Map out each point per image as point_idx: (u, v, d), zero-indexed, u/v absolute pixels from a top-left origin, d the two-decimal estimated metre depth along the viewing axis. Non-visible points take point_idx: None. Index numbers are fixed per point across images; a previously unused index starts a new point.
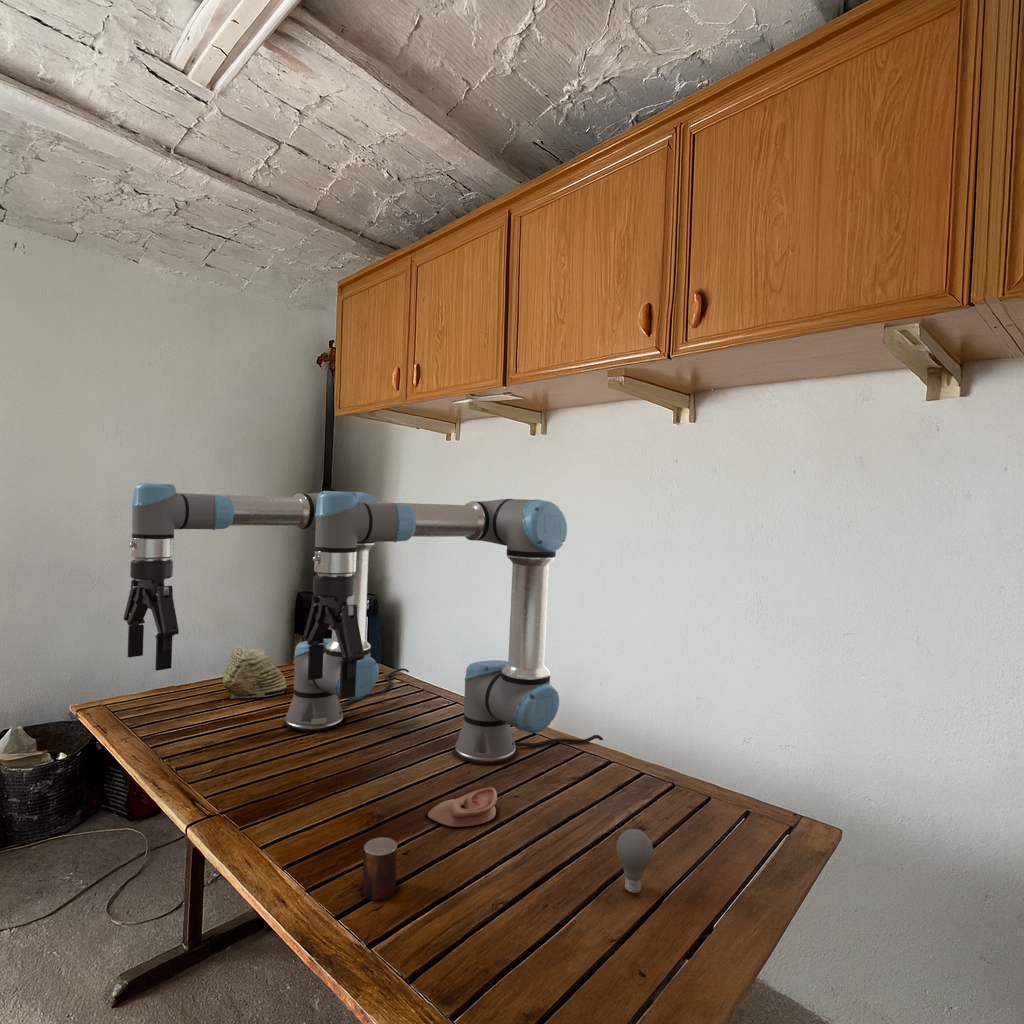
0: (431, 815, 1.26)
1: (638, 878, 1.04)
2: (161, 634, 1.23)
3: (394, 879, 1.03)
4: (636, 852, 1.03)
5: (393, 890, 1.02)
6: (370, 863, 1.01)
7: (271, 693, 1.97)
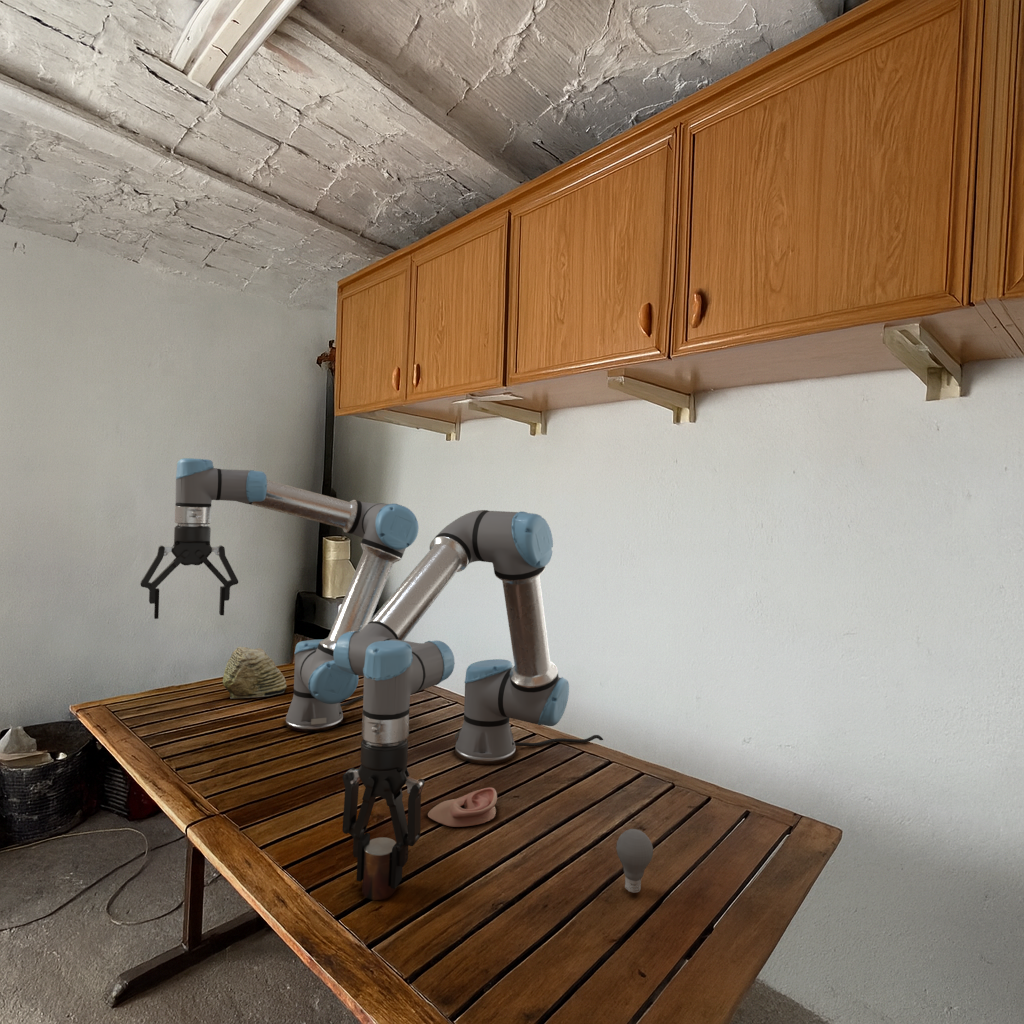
0: (431, 815, 1.26)
1: (638, 878, 1.04)
2: (230, 584, 1.51)
3: None
4: (636, 852, 1.03)
5: (393, 890, 1.02)
6: (370, 863, 1.01)
7: (271, 693, 1.97)
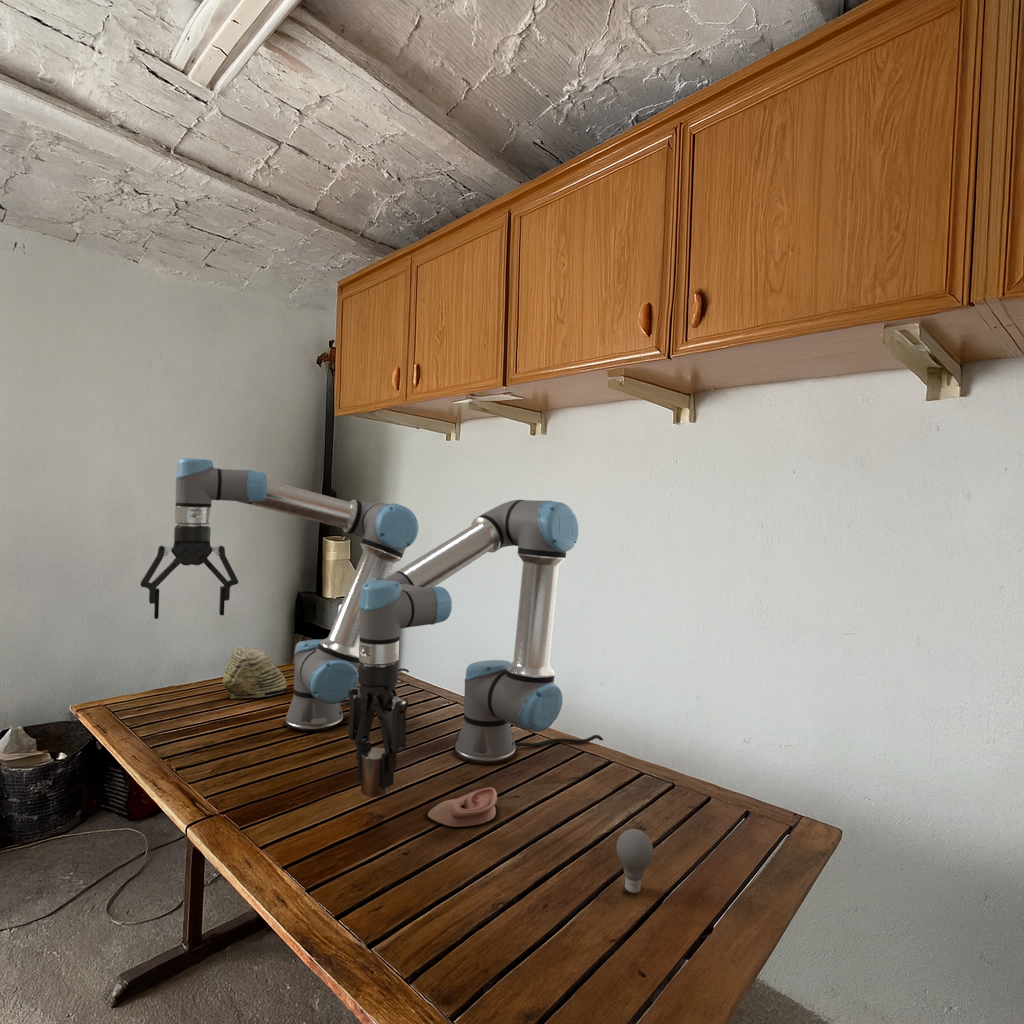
0: (431, 815, 1.26)
1: (638, 878, 1.04)
2: (230, 584, 1.51)
3: None
4: (636, 852, 1.03)
5: (384, 791, 1.20)
6: (364, 765, 1.20)
7: (271, 693, 1.97)
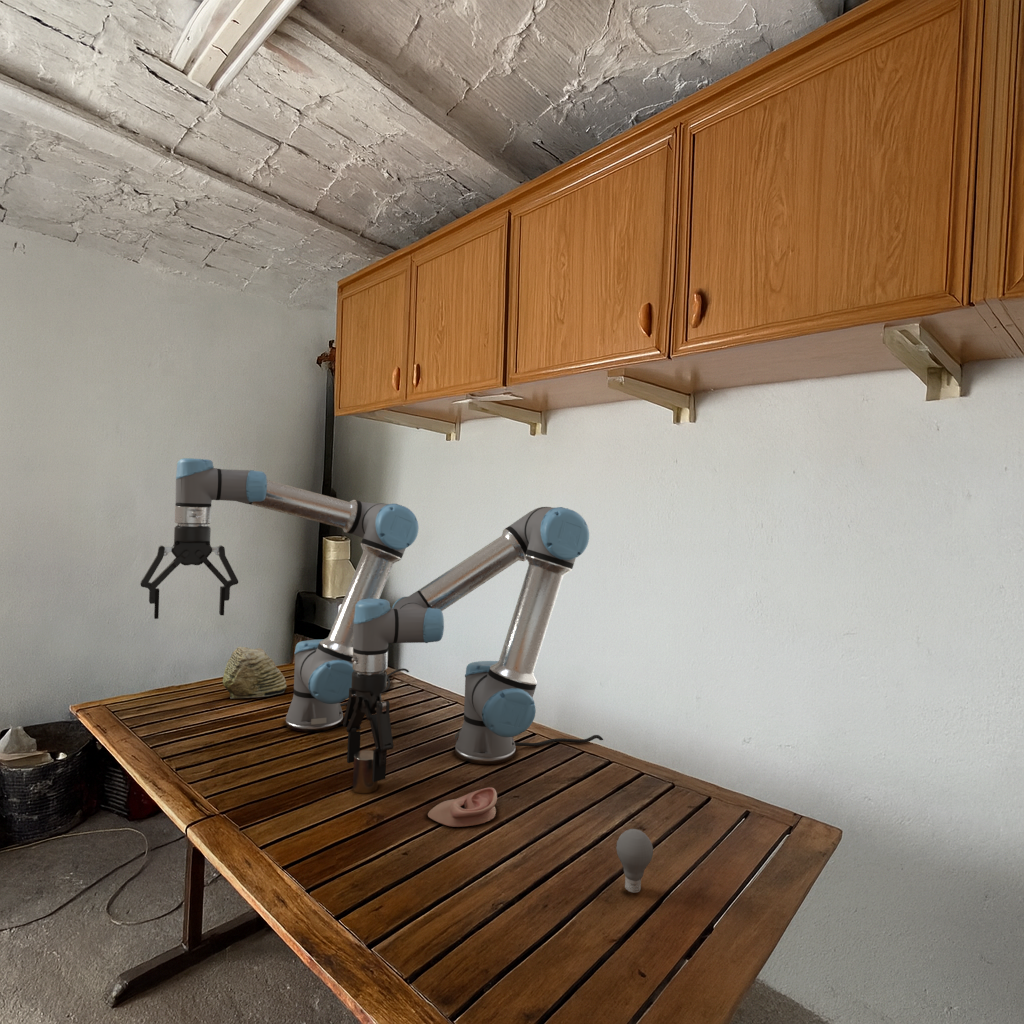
0: (431, 815, 1.26)
1: (638, 878, 1.04)
2: (230, 584, 1.51)
3: (371, 782, 1.37)
4: (636, 852, 1.03)
5: (370, 790, 1.37)
6: (354, 764, 1.37)
7: (271, 693, 1.97)
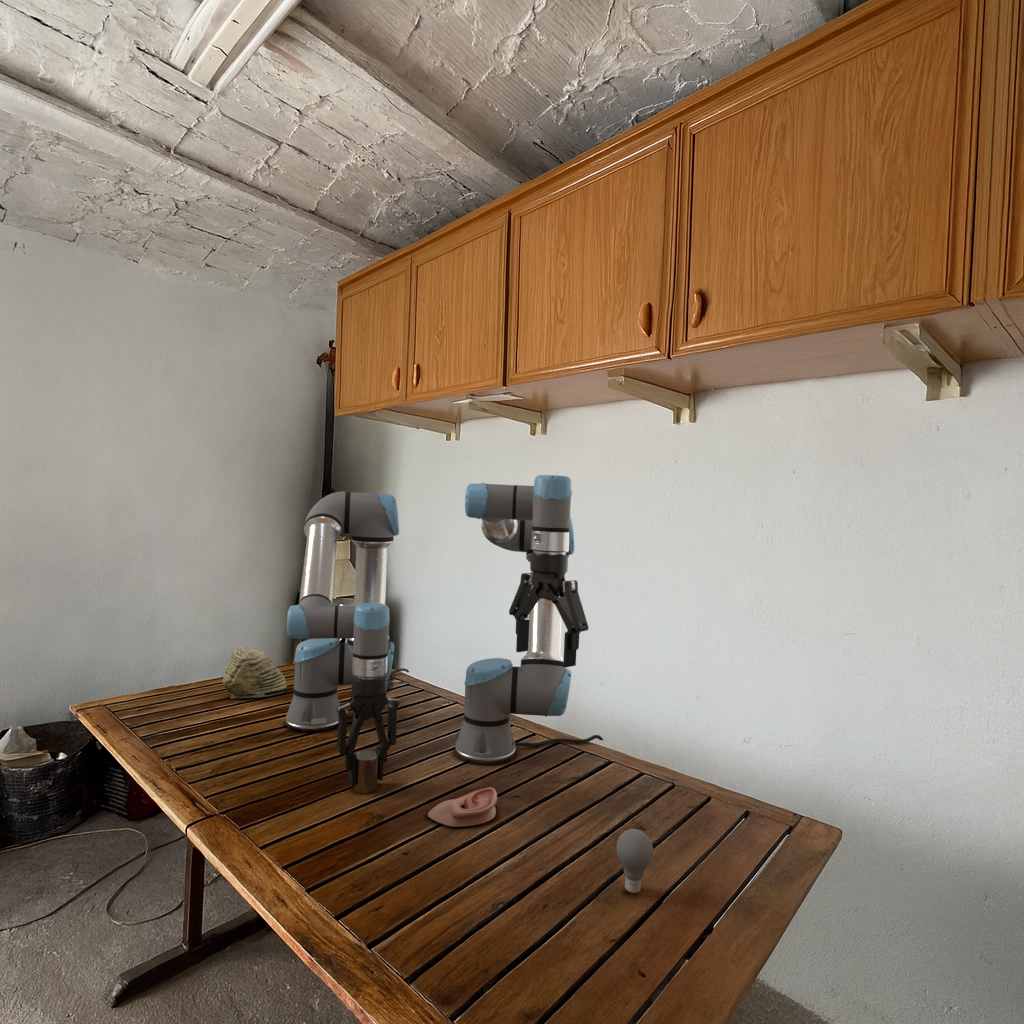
0: (431, 815, 1.26)
1: (638, 878, 1.04)
2: None
3: (371, 782, 1.37)
4: (636, 852, 1.03)
5: (370, 790, 1.37)
6: None
7: (271, 693, 1.97)
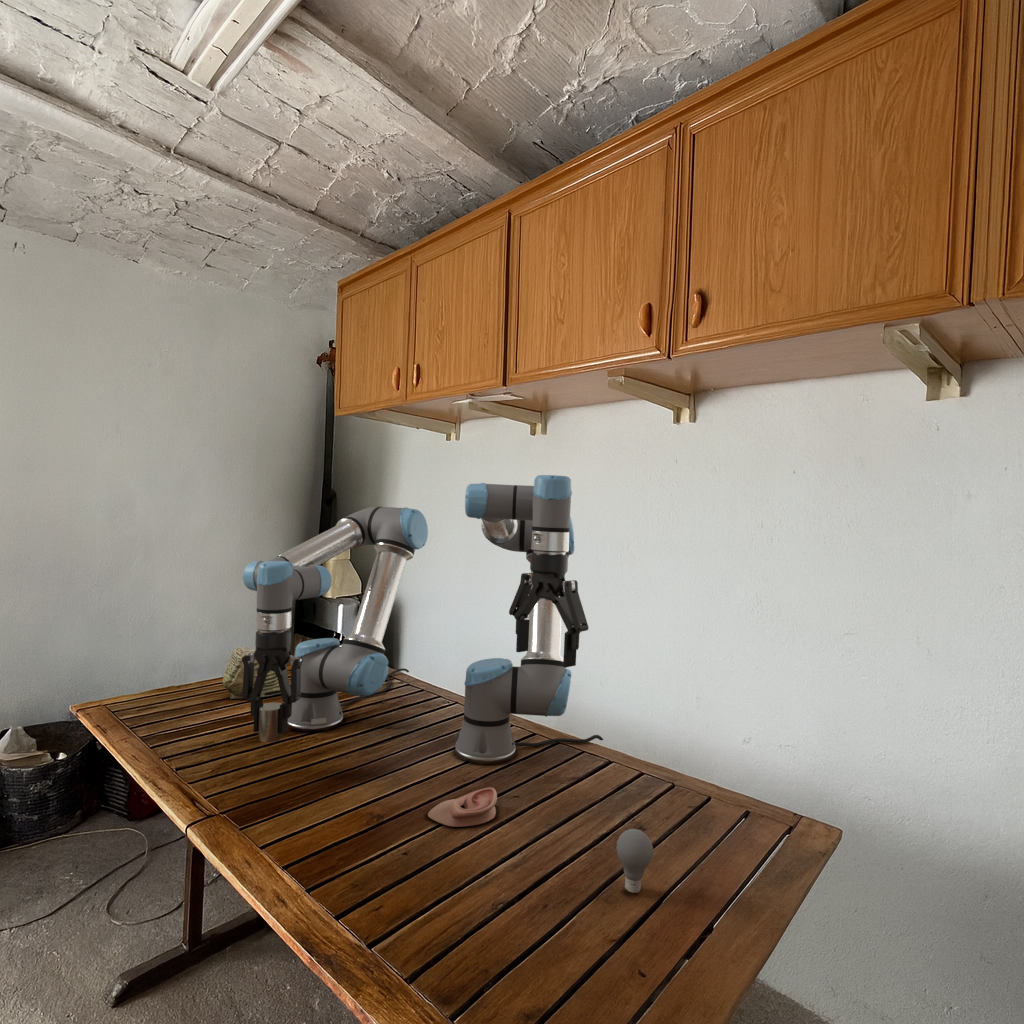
0: (431, 815, 1.26)
1: (638, 878, 1.04)
2: (288, 703, 1.43)
3: (267, 732, 1.42)
4: (636, 852, 1.03)
5: (266, 740, 1.42)
6: None
7: (271, 693, 1.97)
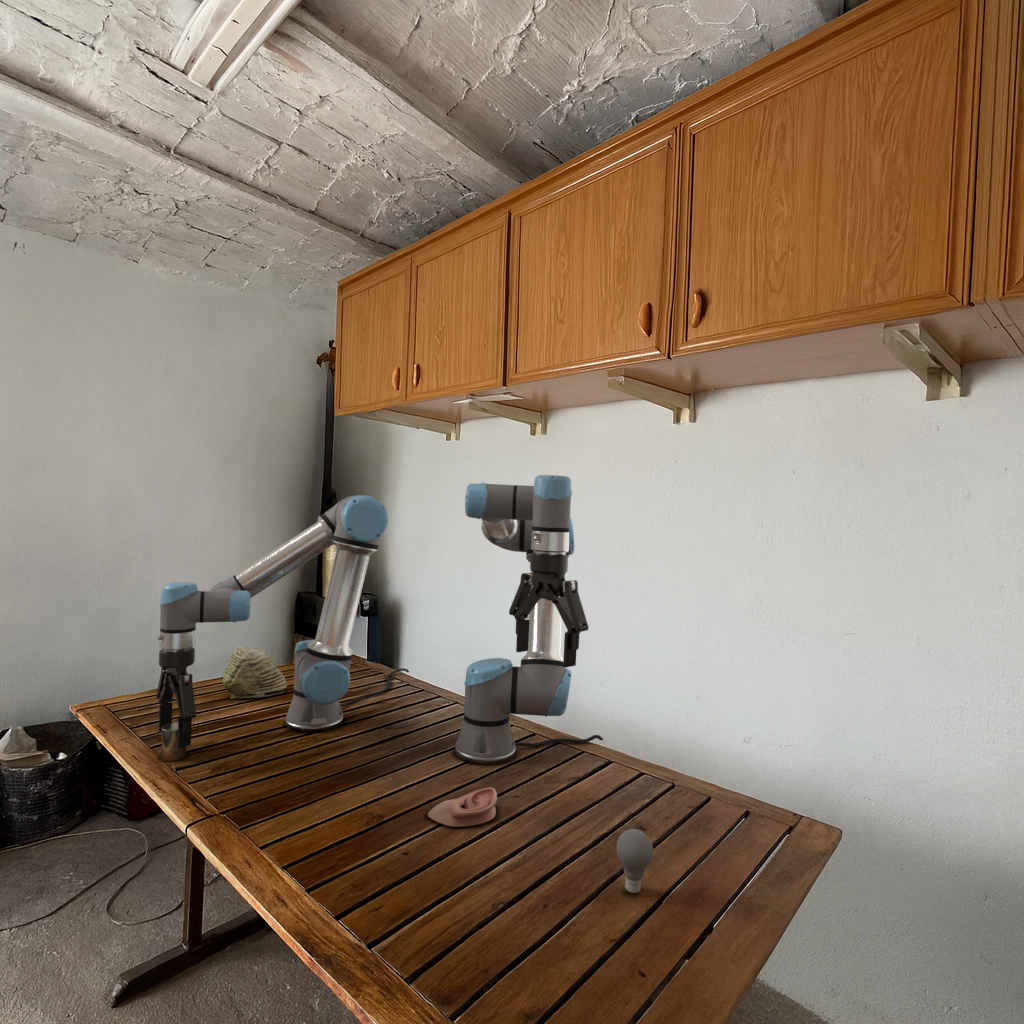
0: (431, 815, 1.26)
1: (638, 878, 1.04)
2: (181, 717, 1.44)
3: (163, 751, 1.48)
4: (636, 852, 1.03)
5: (162, 757, 1.48)
6: None
7: (271, 693, 1.97)
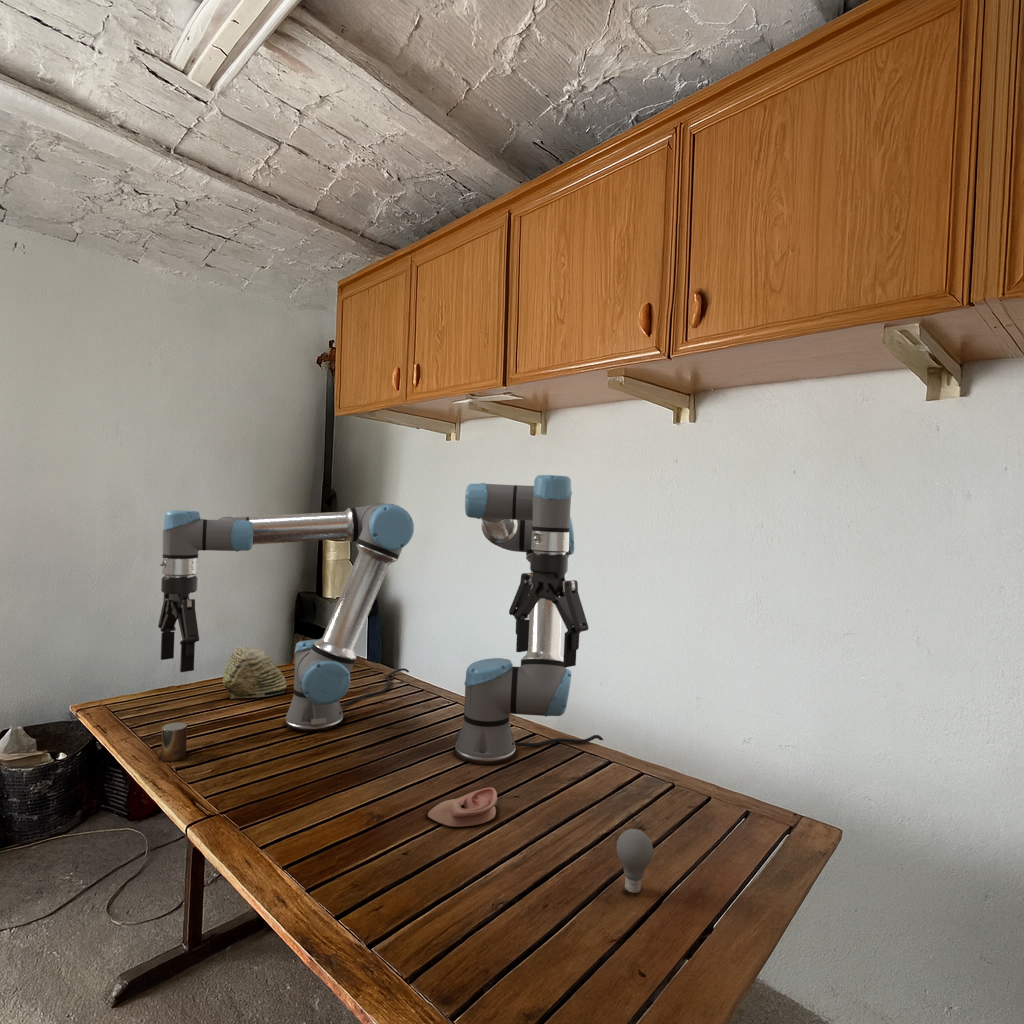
0: (431, 815, 1.26)
1: (638, 878, 1.04)
2: (184, 641, 1.43)
3: (163, 751, 1.48)
4: (636, 852, 1.03)
5: (162, 757, 1.48)
6: None
7: (271, 693, 1.97)
